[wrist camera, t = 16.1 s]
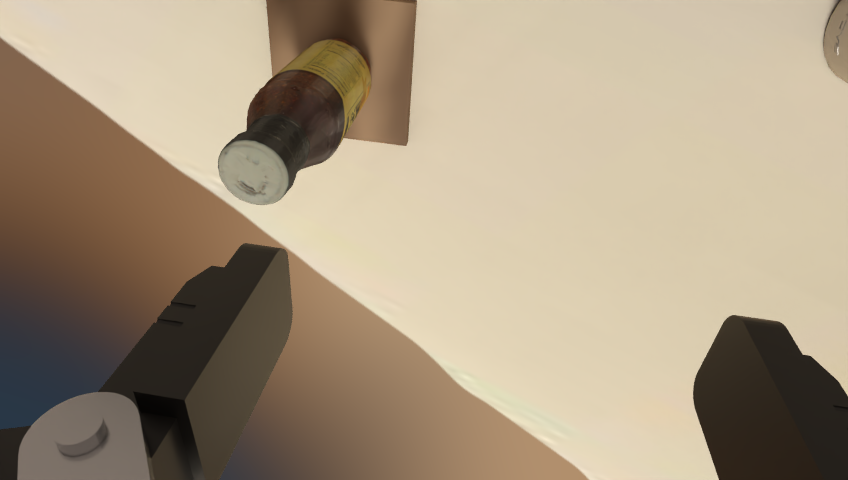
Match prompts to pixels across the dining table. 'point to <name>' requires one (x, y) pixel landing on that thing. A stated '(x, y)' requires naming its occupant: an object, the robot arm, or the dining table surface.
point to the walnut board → (374, 36)
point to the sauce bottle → (296, 121)
